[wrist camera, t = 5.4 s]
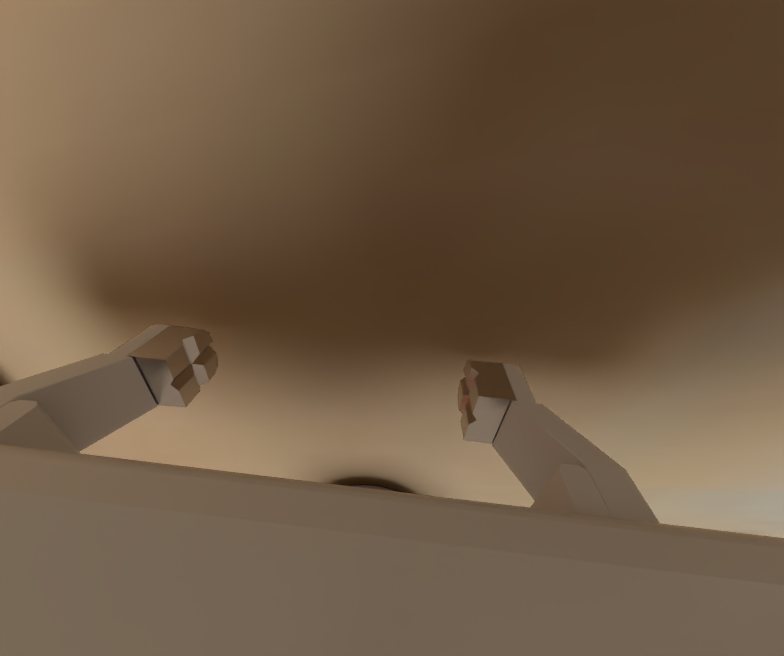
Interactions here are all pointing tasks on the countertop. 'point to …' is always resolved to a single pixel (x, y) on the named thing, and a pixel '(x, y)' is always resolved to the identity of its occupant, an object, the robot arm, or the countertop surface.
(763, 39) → the countertop surface
